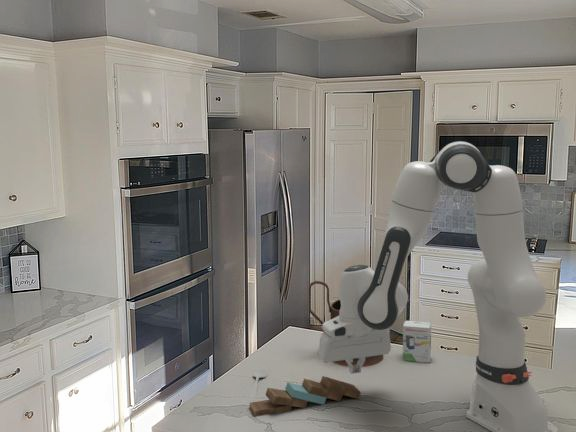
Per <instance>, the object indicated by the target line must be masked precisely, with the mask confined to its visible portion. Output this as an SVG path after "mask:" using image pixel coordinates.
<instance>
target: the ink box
mask: <svg viewBox="0 0 576 432" xmlns="http://www.w3.org/2000/svg"><path fill="white" fill-rule="evenodd" d="M431 355H432V323H430V322H426V321H413V320H405V321H404V322H403V325H402V360H403V361H405V362H418V363H431V358H432V357H431Z"/></svg>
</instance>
